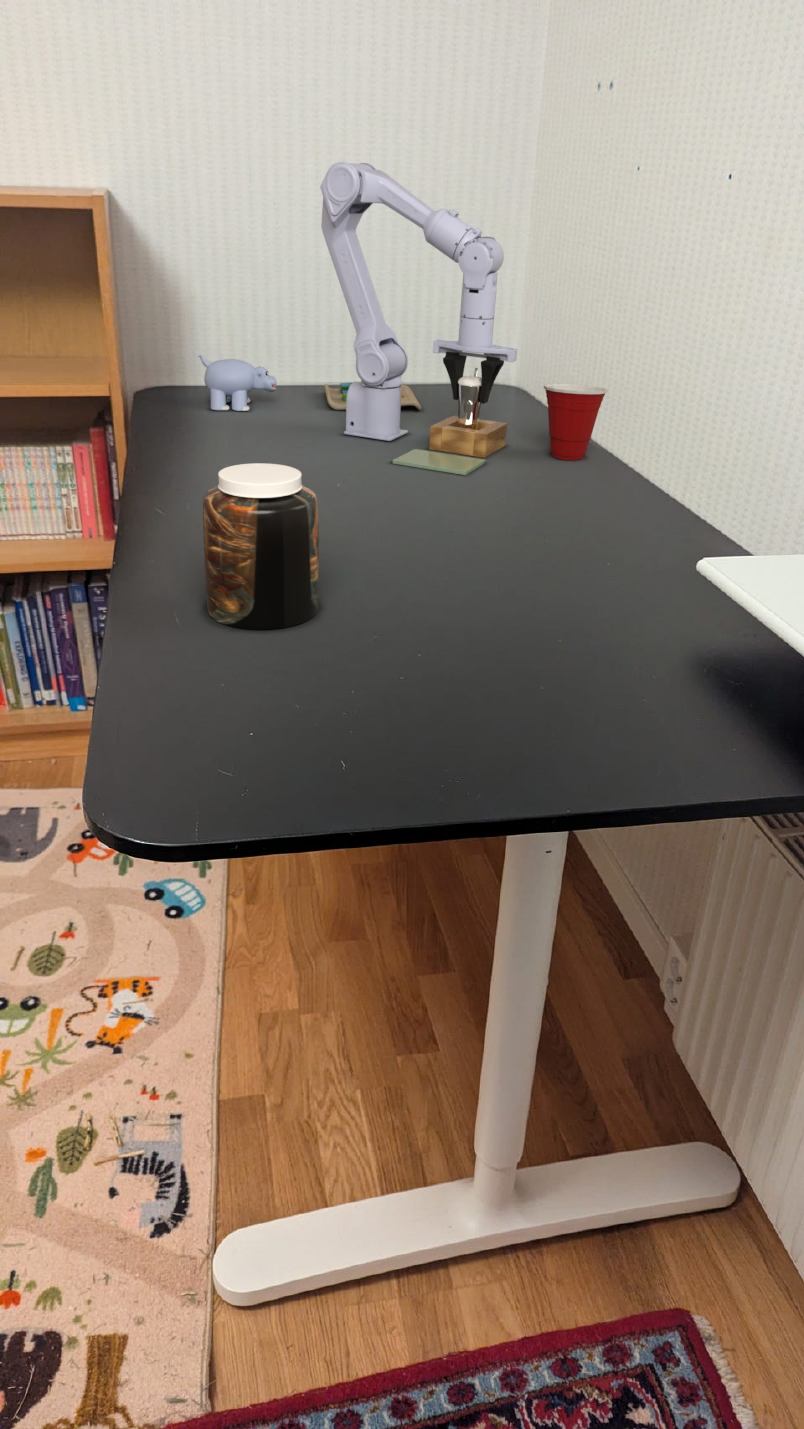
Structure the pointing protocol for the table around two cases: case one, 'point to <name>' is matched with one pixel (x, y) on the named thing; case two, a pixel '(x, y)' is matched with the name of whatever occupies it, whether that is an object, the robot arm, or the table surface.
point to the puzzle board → (339, 396)
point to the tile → (439, 461)
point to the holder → (468, 437)
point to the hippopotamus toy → (234, 382)
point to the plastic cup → (572, 418)
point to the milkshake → (469, 401)
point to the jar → (261, 547)
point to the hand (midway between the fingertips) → (470, 400)
